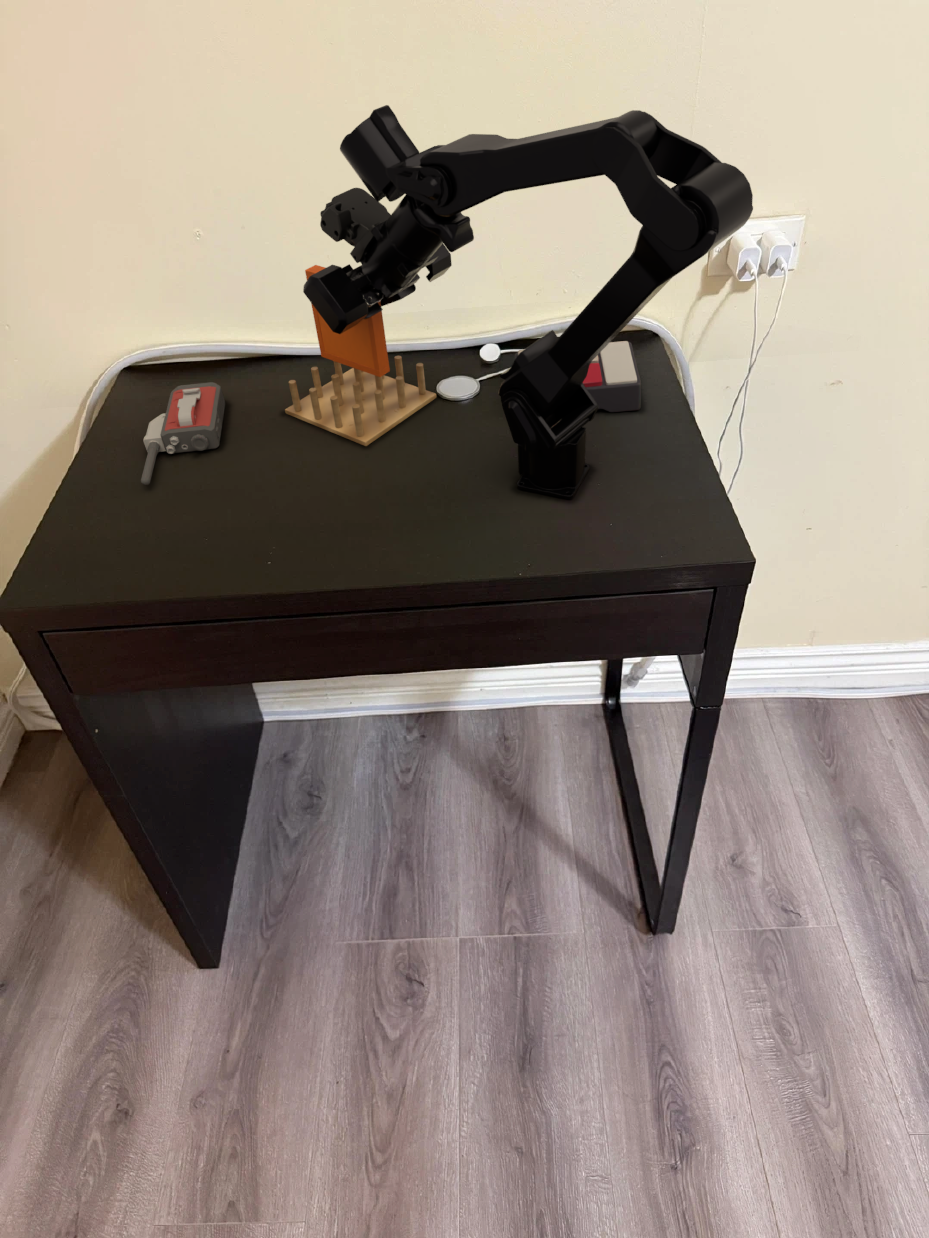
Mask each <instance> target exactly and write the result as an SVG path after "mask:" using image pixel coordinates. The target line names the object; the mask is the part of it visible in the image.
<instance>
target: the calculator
mask: <svg viewBox="0 0 929 1238" xmlns="http://www.w3.org/2000/svg"><path fill="white" fill-rule="evenodd" d="M525 349H526V348H524V349H523V348H522V349H518V350H517V352H515V353H514V360H515V359H516V358H517V356H518V355H519V353H520V352H522V351H523V350H525ZM635 356H636V355H635V352H634V348H633V344H632V342H631V341H628V340H623V341H611V342H610V343H609V344H608V345H607V346H606V347H605V348H604V349H603V350H602V351H601V352H600V353H599V354H598V355H597V356H596V357H595V358H594V359H593V360H592V362H591V363H590V365H589V369H588V373H587V376H586V378H585V380H584V381H583V384H584V386H585V387H586V388H587V390H588V391H589V393H590V394H591V395H592V397H593V398H594V400H595V401H596V402H597V404H598V409H597V410H603V411H606V412H608V413H621V412H632V411H639V410H640V409H641V407H642V381H641V376H640V372H639V368H638V364H637V360H636V357H635Z"/></svg>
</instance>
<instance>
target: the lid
mask: <svg viewBox="0 0 929 1238" xmlns="http://www.w3.org/2000/svg"><path fill="white" fill-rule="evenodd" d="M325 268H326V267H325V266H321V265H317V264H314V265H312V266H310V267H308V268H306V269H305V270H304V273H305V278H306V281H307V280H308V278H309V277H310V276H311V275H313V274H315V273H317V272H319V271H321V270H323V269H325ZM310 303H311V302H310ZM378 304H379V305H380V306H381V302H378ZM311 309H312V314H313V319H314V320H313V321H314V326H315V330H316V335H317V341H318V346H319V351H320V356H321V358H324V359H326V360H330V361H332V362H333V361H335V362H338V363H341V365H344V366H347V367H350V368H351V369H352V368H355V369H358V370H361V371H364V372H367V373H370V374H372V375H375V376H378V377H381V376H383V375H386V374H387V373H390V371H391V367H390V362H389V353H388V347H387V341H386V339H387V338H386V333H385V324H384V317H383V310H382V311H380V312H378V313H377V314H375V315H373V316H371V317H370V318H368V319H363V320H362V321H360V322H359V323H358V324H357V325H355V326H354V327H352V328H350V329H348V330H347V331H345V332H343V333H341V334H338V333H335V332H333V331H332V330H331V328H330V327H329V326H328V324H327V323H326V322H325V320H324V319H323V318H322V316H321V315H320V314H319V312H318V311H317V310H316V308H315V307H314V306H313V304H312V303H311Z"/></svg>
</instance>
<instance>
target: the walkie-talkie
mask: <svg viewBox="0 0 929 1238" xmlns="http://www.w3.org/2000/svg"><path fill="white" fill-rule="evenodd" d="M223 392H224V391H223V389H222V386H221V385H219V384H217V383H216V382H213V381H209V382H199V383H192V384H190V383H189V384H182V385H177V386H176V387H175V388H173V390H172V391H170V394H169V398H168V402H167V407H166V411H165V413H161V414H159V415H158V416H156V417H155V418H153V419H152V420H151V421H149V422H148V426H147V430H146V433H145V436H144V437H143V440H142V441H143V444H144V447H145V450H146V453H147V455H146V459H145V463H144V466H143V470H142V475H141V477H140V483H141V484H142V485H144V486H148V485H150V484H151V480H152V476H153V472H154V467H155V464H156V460H157V456H158V455H159V453H162V452H166V453H167V454H169V455H172V454H180V453H189V452H202V451H207V450H215V449H217V448H218V447H219V446H220V443H221V442H220V441H221V436H222V429H223V422H224V414H225V408H226V401H225V397H224V393H223Z"/></svg>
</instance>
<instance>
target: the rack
mask: <svg viewBox="0 0 929 1238" xmlns="http://www.w3.org/2000/svg"><path fill="white" fill-rule="evenodd" d="M332 362H333V366H334V374H332V375H331V377H330V378H331V381H329V382H327V383H325V384H323V386H322V382H321V377H320V370H319V367H318V366H312V367H311V368H310V371H311V378H312V383H313V387H311V388H309V389H308V392H309V394H307V395H306V396H304V397H303V398H300V394H299V390H298V385H297V381H296V380H295V379H290V380H289V381H288V387H289V391H290V396H291V401H292V405H289V406H288V407H287V408H285V409H284V412H285V414H286V415H289V416H290V417H294V418H295V419H298V420H300V421H302V422H305V423H308V424H311V425H313V426H315V427H317V428H319V429H320V428H321V429H323V430H324V431H327V432H329V433H332V434H335V435H337V436H338V437H339V436H340V437H342V438H345V439H347V440H349V441H352V442H355V443H357V444H359V445H361V446H364V447H368V446H369V445H370V444H371V443H374V441H376V440H377V439H379V438H380V437H381V436H382V437H383V435H385V434H386V433H387V432H390V430H392V429H394V428H395V427H396V426H398V425H399V424H401V423H402V422H404V421H405V420H406V419H408V418H409V417H411V416H412V415H413V414H415V413H417V412H418V411H420V410H421V409H422V408H424V407H425V406H427V405H428V404H429V403H431V402H433V401H434V400H435V399H437V393H435V392H432V391H430V390H427V389H426V379H425V369H424V363H422V362H418V363H416V364H415V369H416V378H417V379H416V380H417V386H416V385H413V384H409V383H407V382H405V376H404V366H403V359H402V356H401V355H395V356H394V364H395V365H394V367H395V374H396V376H395V378H393V377H391V376H388V375H386V374H384V375H383V376H381V377H378V376H375V375H372V374H370V373H367V372H364V371H361V370H358V369H355V368H352V367H351V368H350V369H348V370H347V371H345V372H344V373H343V370H342V364H341V363H338V362H335V361H332Z"/></svg>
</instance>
